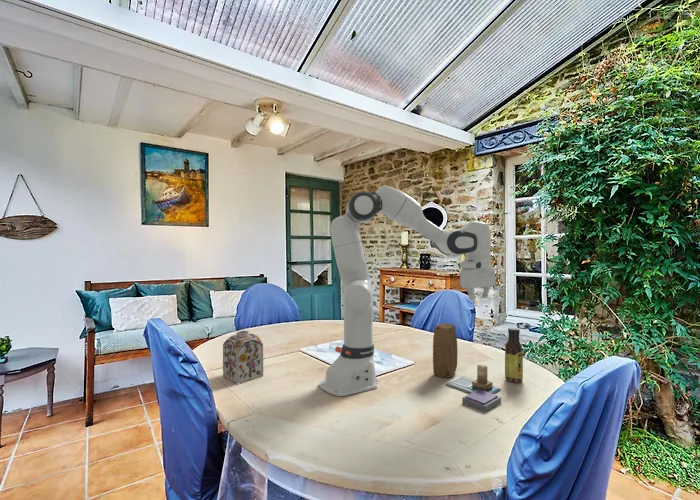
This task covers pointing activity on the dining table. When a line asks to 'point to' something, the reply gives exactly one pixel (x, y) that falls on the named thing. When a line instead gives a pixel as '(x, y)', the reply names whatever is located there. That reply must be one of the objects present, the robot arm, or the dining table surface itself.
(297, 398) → the dining table surface
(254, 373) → the decorative jar
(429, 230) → the robot arm
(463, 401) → the ink pad
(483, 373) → the stamp
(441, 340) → the block
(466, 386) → the board
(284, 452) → the dining table surface
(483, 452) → the dining table surface
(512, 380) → the sauce bottle
